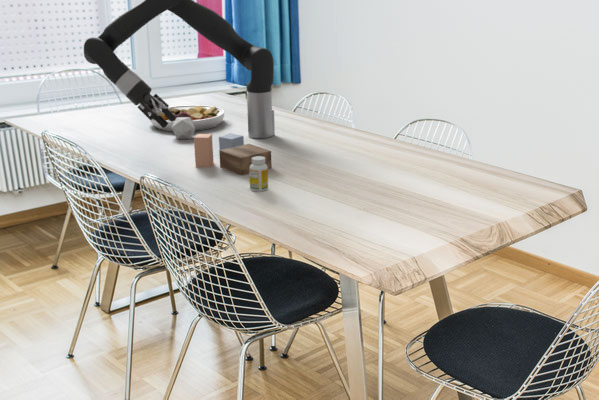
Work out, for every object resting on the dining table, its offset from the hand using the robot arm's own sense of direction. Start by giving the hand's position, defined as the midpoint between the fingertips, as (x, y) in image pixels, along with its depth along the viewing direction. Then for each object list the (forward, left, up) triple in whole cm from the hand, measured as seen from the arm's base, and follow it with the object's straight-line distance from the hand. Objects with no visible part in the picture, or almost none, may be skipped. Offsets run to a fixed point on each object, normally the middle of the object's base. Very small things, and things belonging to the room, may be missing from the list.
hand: (170, 122), depth 232 cm
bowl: (-32, -47, -15) cm, 59 cm away
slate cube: (-23, +1, -14) cm, 27 cm away
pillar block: (-8, +8, -14) cm, 18 cm away
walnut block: (-17, +19, -14) cm, 29 cm away
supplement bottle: (-8, +40, -14) cm, 43 cm away
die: (-20, -28, -14) cm, 37 cm away
